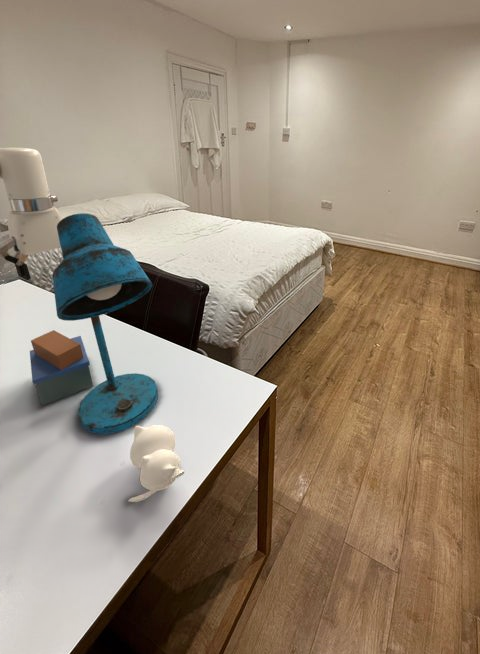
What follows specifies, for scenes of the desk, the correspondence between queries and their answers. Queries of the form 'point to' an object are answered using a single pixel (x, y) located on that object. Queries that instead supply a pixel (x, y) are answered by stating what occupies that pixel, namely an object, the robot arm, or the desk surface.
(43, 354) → the block
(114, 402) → the desk lamp
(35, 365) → the container
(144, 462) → the cat figurine
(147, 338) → the desk surface
